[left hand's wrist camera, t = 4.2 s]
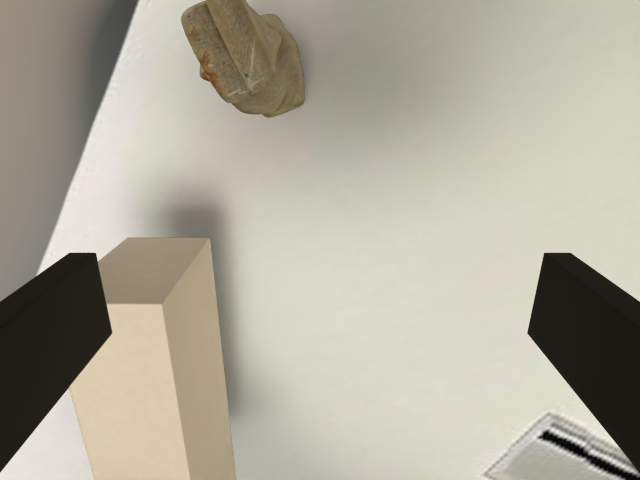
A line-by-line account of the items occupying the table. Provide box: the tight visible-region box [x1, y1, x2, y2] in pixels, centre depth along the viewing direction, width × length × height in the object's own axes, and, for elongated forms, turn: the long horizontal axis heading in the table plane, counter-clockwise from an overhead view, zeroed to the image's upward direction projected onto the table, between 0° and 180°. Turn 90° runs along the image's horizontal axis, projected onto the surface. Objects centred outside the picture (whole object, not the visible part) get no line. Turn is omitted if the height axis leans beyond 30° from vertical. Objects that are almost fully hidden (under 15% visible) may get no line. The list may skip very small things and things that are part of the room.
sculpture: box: [181, 0, 305, 117], centre depth 28 cm, size 6×7×15 cm
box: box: [69, 238, 236, 480], centre depth 31 cm, size 25×6×10 cm, turn 0°
